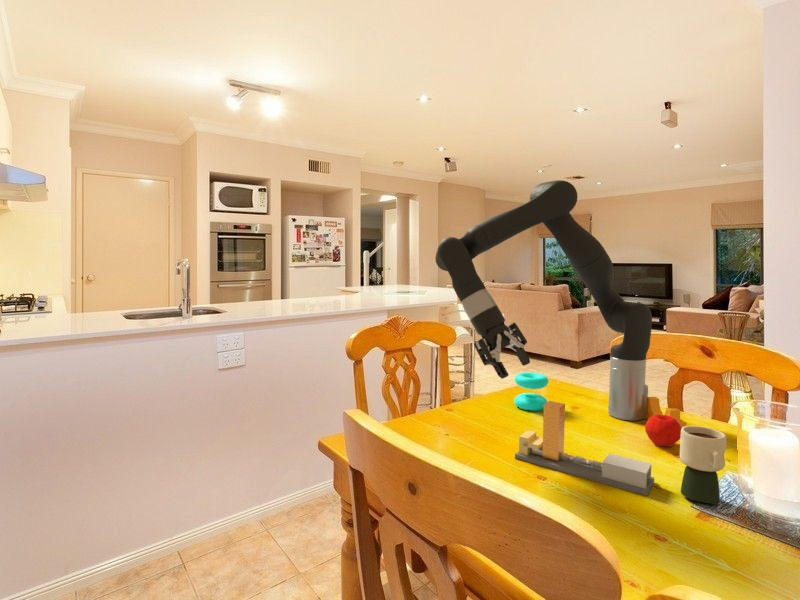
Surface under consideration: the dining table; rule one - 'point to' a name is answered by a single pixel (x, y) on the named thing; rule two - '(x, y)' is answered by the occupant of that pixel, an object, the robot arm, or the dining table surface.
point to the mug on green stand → (702, 462)
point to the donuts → (530, 399)
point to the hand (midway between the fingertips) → (516, 370)
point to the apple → (663, 430)
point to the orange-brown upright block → (558, 436)
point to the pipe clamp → (654, 409)
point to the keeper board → (613, 471)
